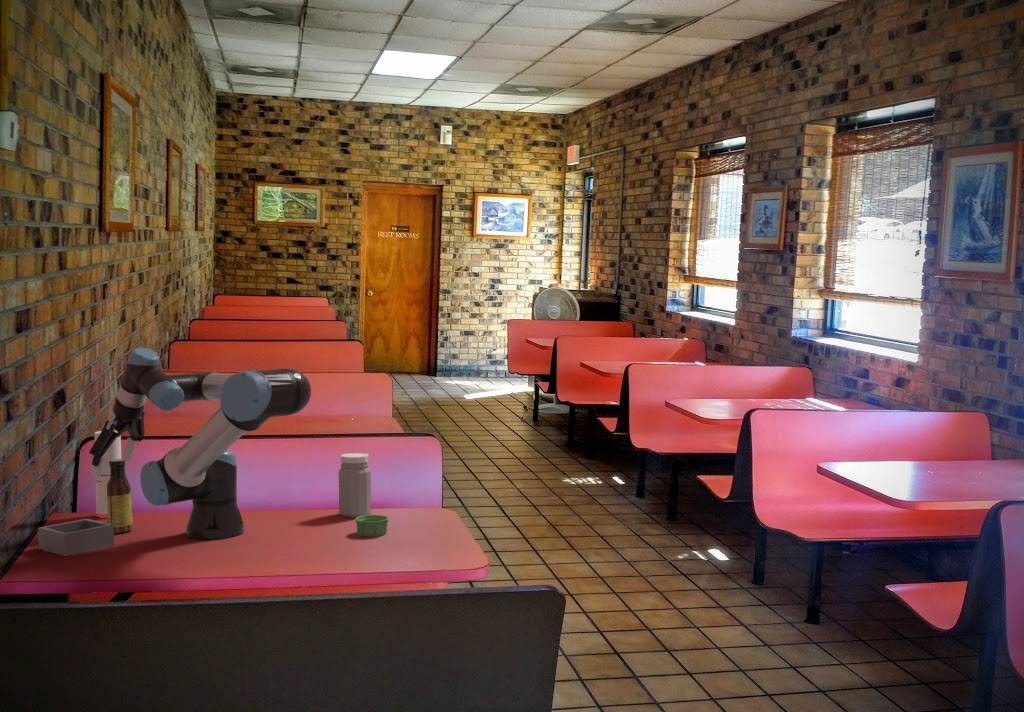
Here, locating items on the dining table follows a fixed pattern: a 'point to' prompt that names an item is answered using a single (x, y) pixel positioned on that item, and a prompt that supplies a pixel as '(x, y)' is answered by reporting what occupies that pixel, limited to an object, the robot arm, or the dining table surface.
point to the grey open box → (75, 537)
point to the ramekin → (372, 525)
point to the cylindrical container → (106, 474)
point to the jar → (354, 485)
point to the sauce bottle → (119, 498)
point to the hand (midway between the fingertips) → (110, 466)
